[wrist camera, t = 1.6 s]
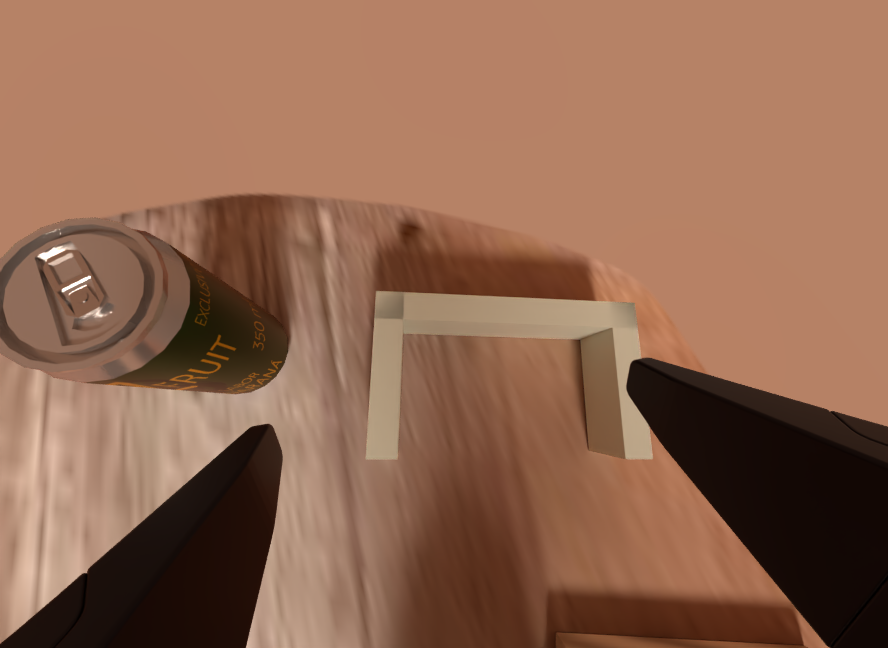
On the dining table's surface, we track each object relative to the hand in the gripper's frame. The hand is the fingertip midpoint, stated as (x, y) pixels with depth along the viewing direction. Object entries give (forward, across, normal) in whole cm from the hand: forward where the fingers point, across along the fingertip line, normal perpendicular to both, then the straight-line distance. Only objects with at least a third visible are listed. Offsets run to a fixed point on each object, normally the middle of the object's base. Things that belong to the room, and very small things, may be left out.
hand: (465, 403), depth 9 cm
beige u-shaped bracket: (+12, -4, +9) cm, 15 cm away
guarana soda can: (+15, +11, +5) cm, 19 cm away
